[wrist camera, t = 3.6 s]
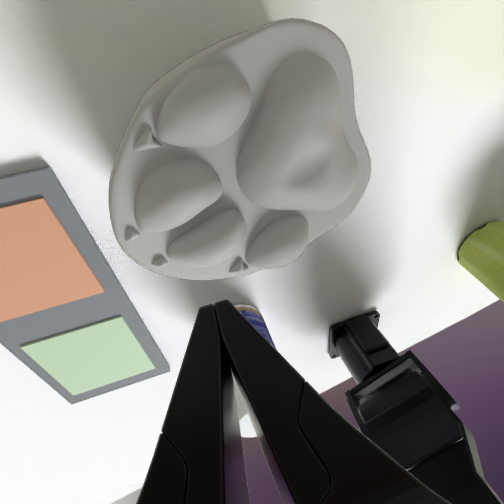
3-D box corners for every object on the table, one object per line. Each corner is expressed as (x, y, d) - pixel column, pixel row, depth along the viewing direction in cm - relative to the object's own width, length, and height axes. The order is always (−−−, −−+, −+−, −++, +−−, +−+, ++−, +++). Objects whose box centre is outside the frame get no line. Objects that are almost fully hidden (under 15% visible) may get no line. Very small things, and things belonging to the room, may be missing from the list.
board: (169, 366, 30) (170, 373, 29) (73, 398, 28) (71, 406, 28) (50, 166, 16) (45, 170, 16) (-141, 209, 15) (-154, 215, 15)
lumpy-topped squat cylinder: (322, 166, 21) (399, 214, 15) (182, 251, 22) (192, 335, 15) (269, 4, 15) (360, -44, 8) (75, 131, 16) (12, 184, 9)
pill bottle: (247, 342, 31) (278, 438, 23) (199, 338, 28) (215, 444, 21) (270, 305, 29) (313, 398, 21) (220, 297, 26) (246, 399, 18)
